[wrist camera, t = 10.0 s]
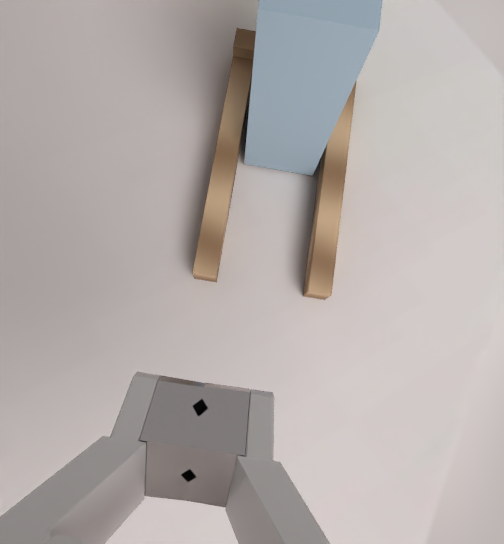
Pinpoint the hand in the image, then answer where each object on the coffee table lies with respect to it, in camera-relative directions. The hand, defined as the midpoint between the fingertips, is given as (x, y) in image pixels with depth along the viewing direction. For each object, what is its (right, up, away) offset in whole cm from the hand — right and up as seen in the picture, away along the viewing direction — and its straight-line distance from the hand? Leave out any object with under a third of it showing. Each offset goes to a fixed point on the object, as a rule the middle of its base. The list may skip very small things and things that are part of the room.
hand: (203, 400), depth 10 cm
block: (+3, +13, +22) cm, 26 cm away
